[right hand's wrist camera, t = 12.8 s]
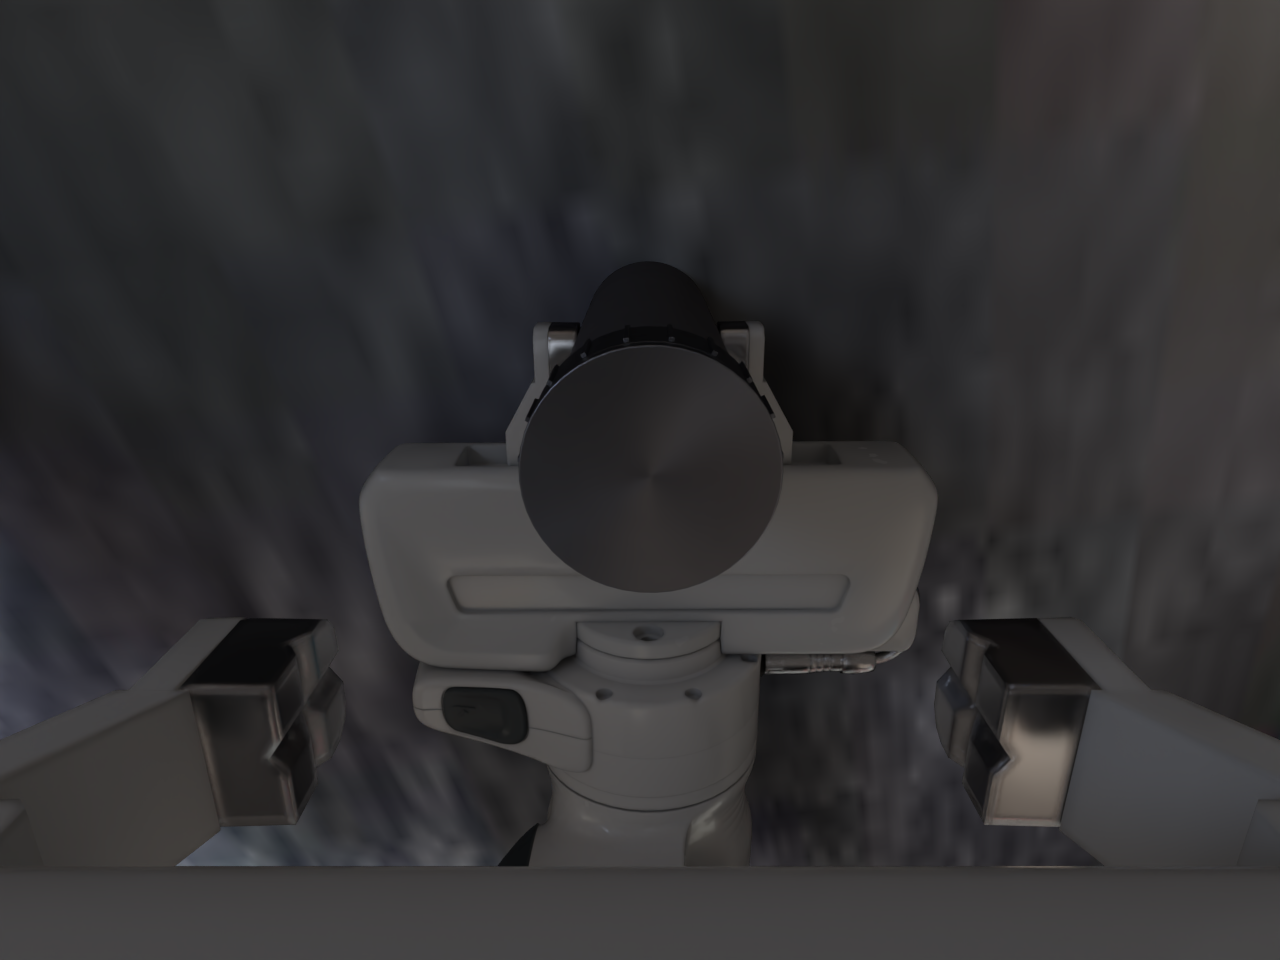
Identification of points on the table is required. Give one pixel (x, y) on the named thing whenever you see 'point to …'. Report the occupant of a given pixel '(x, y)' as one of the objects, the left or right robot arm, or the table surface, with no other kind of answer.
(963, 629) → the right robot arm
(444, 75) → the table surface
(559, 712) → the left robot arm
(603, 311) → the black cylinder
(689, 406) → the lid
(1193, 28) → the table surface
